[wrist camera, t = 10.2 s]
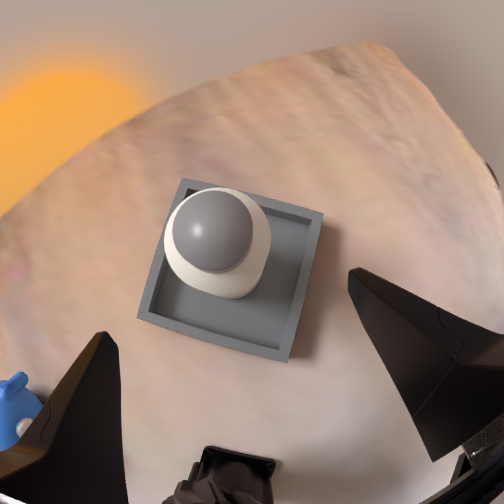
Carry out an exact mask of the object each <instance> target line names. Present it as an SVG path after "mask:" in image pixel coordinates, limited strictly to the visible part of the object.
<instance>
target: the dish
mask: <svg viewBox="0 0 504 504" xmlns="http://www.w3.org/2000/svg"><path fill="white" fill-rule="evenodd" d="M209 188H226V187H222V186H218V185H213V184H209V183H205V182H200V181H196V180H191V179H186V178H182V179H181V182H180V185H179V187H178V190H177V192H176V195H175V198H174V200H173V203H172V206H171V208H170V211H169V214H168V217H167V220H166V222H165V225H164V228H163V231H162V234H161V237H160V240H159V243H158V246H157V249H156V252H155V255H154V259H153V262H152V265H151V268H150V272H149V275H148V278H147V282H146V285H145V289H144V292H143V296H142V299H141V303H140V307H139V310H138V314H137V318H138V319H141V320H143V321H146V322H149V323H151V324H154V325H157V326H160V327H163V328H166V329H168V330H171V331H174V332H177V333H180V334H183V335H186V336H190V337H193V338H196V339H199V340H202V341H206V342H209V343H212V344H216V345H219V346H222V347H226V348H229V349H233V350H237V351H240V352H244V353H248V354H252V355H256V356H260V357H264V358H268V359H272V360H276V361H281V362H285V363H287V362H288V358H289V355H290V351H291V348H292V344H293V341H294V337H295V333H296V330H297V326H298V322H299V318H300V315H301V311H302V307H303V303H304V299H305V295H306V291H307V287H308V283H309V278H310V274H311V270H312V266H313V261H314V257H315V252H316V248H317V243H318V238H319V234H320V229H321V224H322V219H323V214H324V213H321V212H317V211H314V210H310V209H307V208H303V207H300V206H296V205H293V204H289V203H285V202H282V201H278V200H274V199H270V198H266V197H263V196H259V195H255V194H251V193H247V192H243V191H239V190H236V191H239V192H241V193H244V194H245V195H247V196H249V197H250V198H251V199H253V200H254V201H255V202H256V203H257V204H258V205H259V206H260V208H261V209H262V211H263V212H264V214H265V216H266V218H267V220H268V223H269V227H270V232H271V245H270V250H269V254H268V257H267V260H266V263H265V266H264V269H263V271H262V274H261V277H260V280H259V282H258V284H257V286H256V287H255V289H254V290H253V291H252V292H250V293H249V294H248V295H246V296H244V297H242V298H238V299H225V298H222V297H219V296H216V295H213V294H210V293H207V292H204V291H201V290H199V289H196V288H193V287H192V286H190V285H188V284H186V283H185V282H184V281H182V280H181V279H180V278H179V277H178V276H177V275H176V274H175V272H174V271H173V270H172V268H171V266H170V264H169V262H168V260H167V257H166V253H165V248H164V235H165V230H166V226H167V223H168V221H169V218H170V217H171V215H172V213H173V212H174V210H175V209H176V208H177V206H178V205H179V204H180V203H181V202H182V201H184V200H185V199H186V198H187V197H189V196H191V195H192V194H194V193H196V192H199V191H202V190H205V189H209ZM229 189H230V188H229ZM233 190H235V189H233Z"/></svg>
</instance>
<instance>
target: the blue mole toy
mask: <svg viewBox="0 0 504 504" xmlns="http://www.w3.org/2000/svg"><path fill="white" fill-rule="evenodd" d="M27 383H28V376H27V375H26V374H25V373H24V372H20V371H19V372H18V373H17V374H16V375H15V376H13V377H12V378H11V379H10V380H8V381H6V380H1V381H0V451H3V450H6V449H9V448H11V447H12V446H14V445H15V444H16V443H17V441H18V440H19V439H20V437H21V436H22V435H23V433H24V432H25V431H26V429H27V428H28V427H29V425H30V424H31V423H32V421H33V420H34V419H35V417H36V416H37V415H38V413H39V412H40V410H41V409H42V407H43V405H42V403H41V402H40V401H39V399H38V398H37V397H36V396H35V395H34V394H33V393H32V392H31V391H30V390H29V389H27V388H26V387H25V386H26V384H27Z"/></svg>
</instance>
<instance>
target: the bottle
mask: <svg viewBox="0 0 504 504" xmlns="http://www.w3.org/2000/svg"><path fill="white" fill-rule="evenodd" d="M270 245H271V232H270V227H269V223H268V220H267V218H266V216H265V214H264V212H263V211H262V209H261V208H260V206H259V205H258V204H257V203H256V202H255V201H254V200H253V199H251V198H250V197H249V196H247V195H245V194H244V193H241V192H239V191H236V190H233V189H229V188H209V189H205V190H202V191H199V192H196V193H194V194H192V195H191V196H189V197H187V198H186V199H185V200H184V201H182V202H181V203H180V204H179V205H178V206H177V208H176V209H175V210H174V212H173V213H172V215H171V217H170V218H169V221H168V223H167V226H166V230H165V235H164V248H165V253H166V257H167V260H168V262H169V264H170V266H171V268H172V270H173V271H174V272H175V274H176V275H177V276H178V277H179V278H180V279H181V280H182V281H184V282H185V283H186V284H188V285H190V286H192V287H193V288H196V289H199V290H201V291H204V292H207V293H210V294H213V295H216V296H219V297H222V298H225V299H238V298H242V297H244V296H246V295H248V294H249V293H250V292H252V291H253V290H254V289H255V287H256V286H257V284H258V282H259V280H260V277H261V274H262V271H263V269H264V266H265V263H266V260H267V257H268V254H269V250H270Z"/></svg>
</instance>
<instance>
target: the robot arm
mask: <svg viewBox="0 0 504 504" xmlns="http://www.w3.org/2000/svg"><path fill="white" fill-rule="evenodd" d="M348 292H349V295H350V297H351V299H352V301H353V304H354V306H355V308H356V310H357V313H358V315H359V317H360V320H361V322H362V324H363V327H364V328H365V330H366V332H367V334H368V336H369V338H370V339H371V341H372V343H373V345H374V346H375V348H376V350H377V352H378V354H379V355H380V357H381V359H382V361H383V363H384V365H385V367H386V368H387V370H388V372H389V374H390V376H391V378H392V380H393V382H394V384H395V385H396V387H397V389H398V391H399V393H400V395H401V397H402V399H403V401H404V403H405V405H406V407H407V409H408V411H409V413H410V415H411V417H412V420H413V422H414V424H415V426H416V428H417V430H418V432H419V434H420V436H421V438H422V441H423V443H424V445H425V447H426V449H427V452H428V454H429V456H430V458H431V460H432V462H435V461H437V460H438V459H440V458H442V457H443V456H445V455H447V454H448V453H450V452H451V451H453V450H454V449H456V448H457V447H459V446H460V445H462V447H463V449H464V451H465V452H464V453H462V454H461V455H460V456H459V458H458V461H457V464H456V467H455V470H454V473H453V476H452V479H451V481H450V485H448V486H447V487H445V488H444V489H442V490H441V491H439V492H438V493H436V494H434V495H433V496H431V497H429V498H428V499H426V500H424V501H423V502H421V503H419V504H504V334H498V333H495V332H492V331H490V330H488V329H485V328H483V327H481V326H478V325H476V324H474V323H471V322H469V321H467V320H464V319H462V318H460V317H458V316H456V315H454V314H452V313H450V312H448V311H446V310H444V309H442V308H440V307H437V306H436V305H434V304H432V303H430V302H428V301H426V300H424V299H422V298H420V297H419V296H417V295H415V294H413V293H411V292H409V291H407V290H405V289H403V288H401V287H399V286H397V285H395V284H393V283H391V282H389V281H387V280H385V279H383V278H381V277H379V276H377V275H375V274H373V273H371V272H369V271H367V270H364V269H362V268H360V267H359V268H355V269H352V270H350V271H349V274H348ZM207 450H210V451H211V452H207ZM269 463H271V464H272V465H268V464H269ZM275 467H276V463H275V461H274V460H272V459H266V458H261V457H255V456H250V455H245V454H241V453H236V452H232V451H228V450H224V449H220V448H216V447H212V446H206V447H205V448H204V450H203V453H202V457H201V460H200V463H199V462H195V463H194V465H193V467H192V470H191V473H190V475H189V478H188V481H187V480H183V481H181V482H179V483H178V484H177V487H176V489H175V492H174V495H172V496H170V497H168V498H167V499H166V500H164V501H163V502H162V504H274V501H273V494H272V487H271V480H270V479H271V476H272V474H273V471H274V469H275ZM125 482H126V480H125V471H124V460H123V447H122V427H121V378H120V365H119V350H118V346H117V344H116V343H115V342H114V340H113V339H112V338H111V336H110V335H109V334H108V332H106V331H102V332H98V333H96V334H95V335H94V336H93V338H92V339H91V340H90V342H89V343H88V344H87V346H86V347H85V348H84V350H83V351H82V352H81V354H80V355H79V356H78V358H77V359H76V360H75V362H74V363H73V364H72V366H71V367H70V369H69V370H68V371H67V373H66V374H65V375H64V377H63V378H62V380H61V381H60V383H59V384H58V385H57V387H56V388H55V390H54V391H53V393H52V394H51V396H50V397H49V399H48V400H47V401H46V403H45V404H44V406H43V407H42V409H41V410H40V412H39V413H38V415H37V416H36V417H35V419H34V420H33V421H32V423H31V424H30V425H29V427H28V428H27V429H26V431H25V432H24V433H23V435H22V436H21V437H20V439H19V440H18V441H17V443H16V444H15V445H14V446H12V447H11V448H9V449H6V450H3V451H0V504H129V502H128V495H127V488H126V483H125Z"/></svg>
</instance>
